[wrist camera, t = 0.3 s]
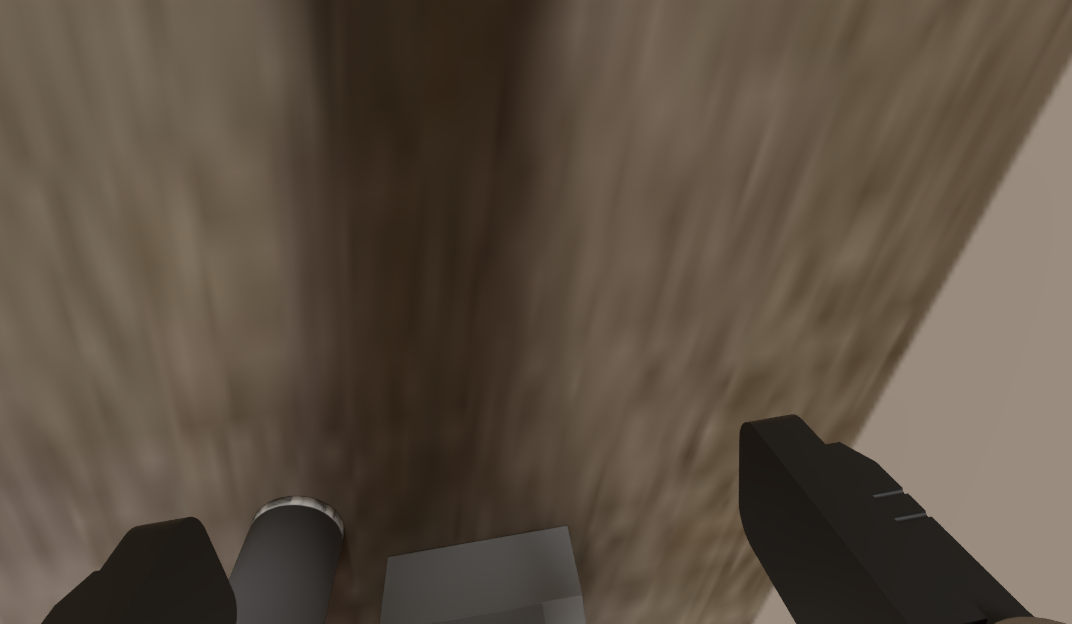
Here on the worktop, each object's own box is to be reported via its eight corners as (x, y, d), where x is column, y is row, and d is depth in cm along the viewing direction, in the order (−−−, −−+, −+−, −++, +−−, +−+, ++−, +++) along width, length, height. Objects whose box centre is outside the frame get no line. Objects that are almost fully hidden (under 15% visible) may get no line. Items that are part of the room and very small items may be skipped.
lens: (239, 504, 30) (171, 655, 23) (331, 489, 30) (292, 634, 23) (268, 567, 32) (214, 724, 25) (353, 553, 32) (324, 703, 25)
